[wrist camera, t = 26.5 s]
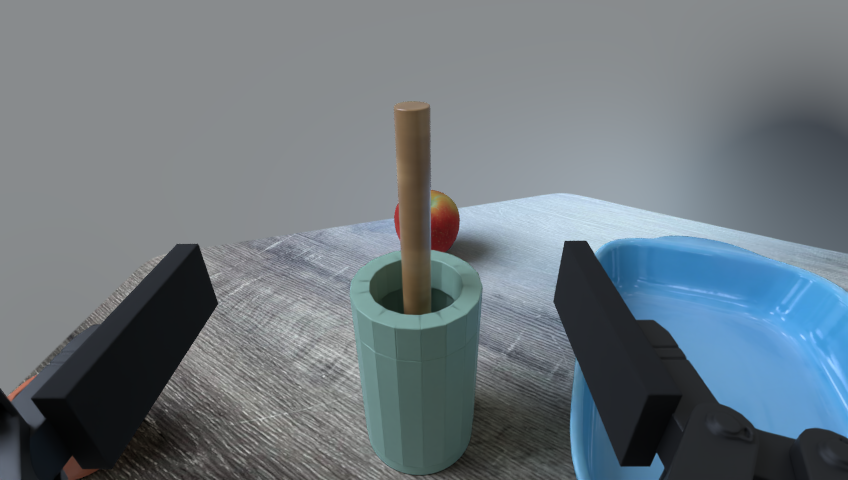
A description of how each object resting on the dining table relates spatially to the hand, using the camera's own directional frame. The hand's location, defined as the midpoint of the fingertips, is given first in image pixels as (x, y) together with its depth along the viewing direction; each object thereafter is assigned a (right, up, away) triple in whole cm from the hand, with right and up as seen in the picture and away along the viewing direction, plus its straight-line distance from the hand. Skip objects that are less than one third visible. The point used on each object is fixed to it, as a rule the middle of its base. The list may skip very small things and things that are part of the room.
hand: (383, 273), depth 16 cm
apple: (+2, -1, +40) cm, 40 cm away
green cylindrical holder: (+1, -14, +18) cm, 23 cm away
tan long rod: (+1, -13, +18) cm, 22 cm away
